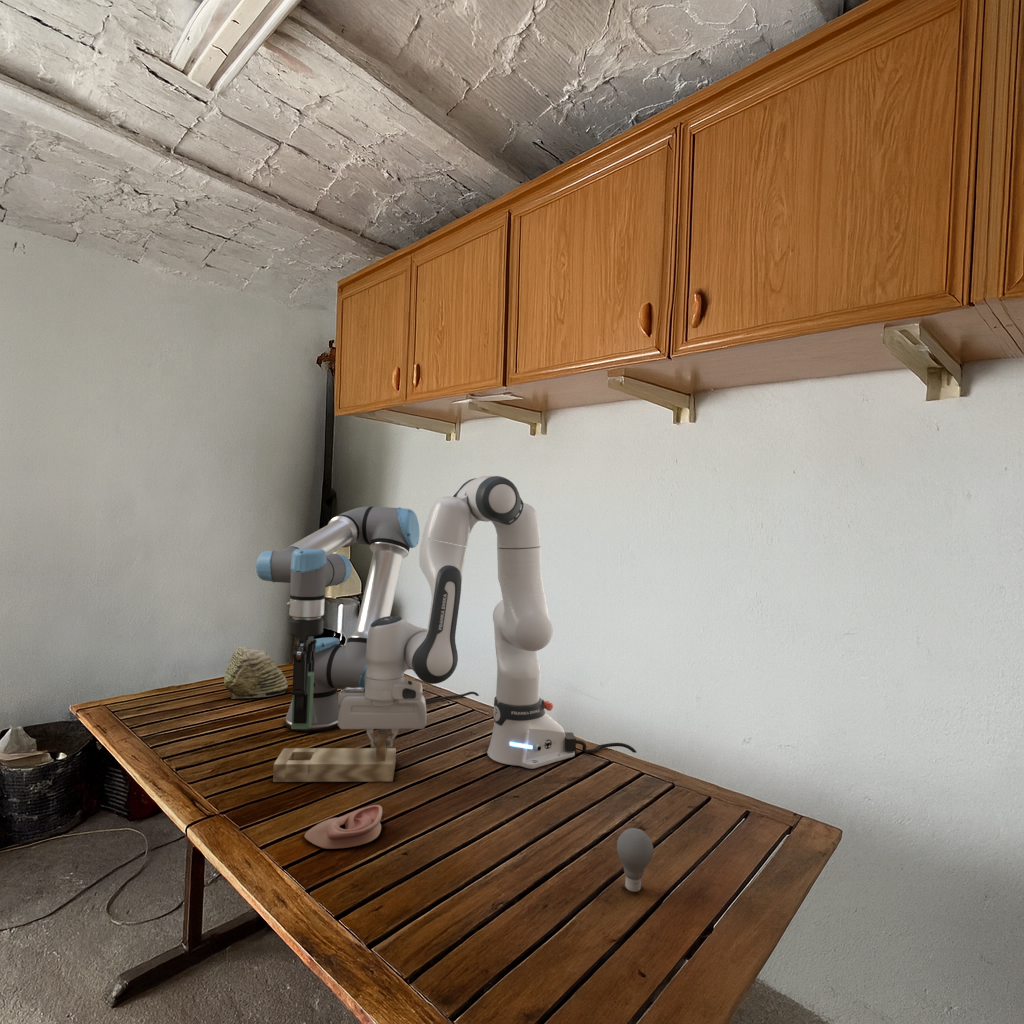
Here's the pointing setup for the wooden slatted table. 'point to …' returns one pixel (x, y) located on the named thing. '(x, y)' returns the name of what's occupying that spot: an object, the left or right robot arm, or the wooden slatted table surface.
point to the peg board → (337, 763)
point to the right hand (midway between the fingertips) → (382, 746)
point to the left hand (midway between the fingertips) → (302, 719)
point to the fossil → (253, 675)
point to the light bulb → (634, 856)
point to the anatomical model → (347, 829)
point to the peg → (309, 704)
